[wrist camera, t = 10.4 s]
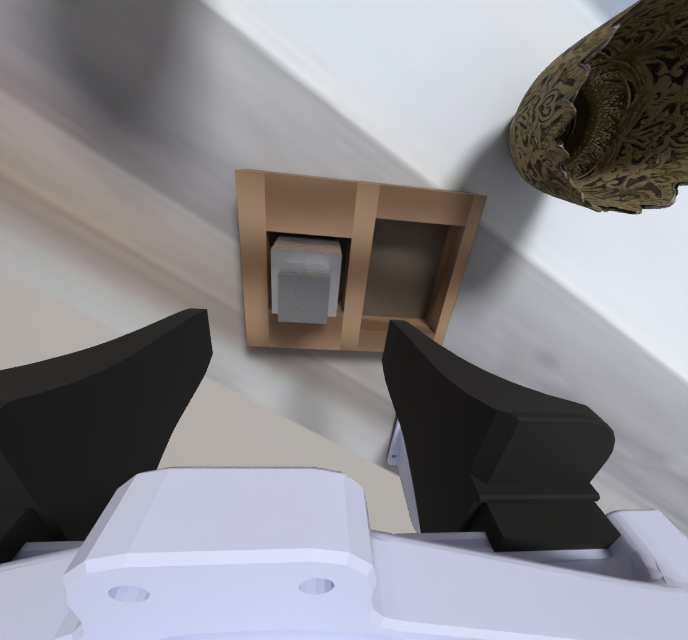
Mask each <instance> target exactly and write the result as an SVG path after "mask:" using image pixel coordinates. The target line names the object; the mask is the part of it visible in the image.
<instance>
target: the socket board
mask: <svg viewBox="0 0 688 640" xmlns="http://www.w3.org/2000/svg"><path fill="white" fill-rule="evenodd" d="M235 176H236V190H237V205H238V220H239V234H240V249H241V264H242V278H243V293H244V307H245V322H246V337H247V346H252V347H276V348H299V349H322V350H345V351H368V352H384V347H385V342H386V337H387V331H388V326H389V321H390V320H405V321H407V322H408V323H410V324H411V325H413V326H414V327H416V328H417V329H418V330H420V331H421V332H423V333H424V334H425V335H427V336H428V337H429V338H431V339H432V340H434V341H435V342H437V343H438V344H439V345H441V346H442V344H443V341H444V337H445V334H446V331H447V328H448V324H449V321H450V318H451V314H452V311H453V308H454V304H455V301H456V298H457V294H458V291H459V288H460V284H461V281H462V278H463V274H464V271H465V268H466V264H467V261H468V258H469V254H470V251H471V248H472V244H473V241H474V238H475V235H476V231H477V228H478V225H479V221H480V218H481V215H482V211H483V208H484V205H485V201H486V198H487V196H484V195H478V194H473V193H468V192H458V191H449V190H439V189H430V188H420V187H411V186H401V185H392V184H382V183H373V182H363V181H354V180H344V179H335V178H325V177H316V176H307V175H297V174H288V173H278V172H269V171H259V170H250V169H239V170H235ZM281 232H285V233H297V234H309V235H321V236H333V237H338V239H339V244H340V248H341V253H342V260H341V271H340V281H339V292H338V302H337V313H336V317H327V324H317V323H298V322H279V321H278V314H274V313H272V287H271V248H272V247H273V245H274V243H275V242H276V240H277V238H278V237H279V235H280V233H281Z"/></svg>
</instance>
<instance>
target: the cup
mask: <svg viewBox="0 0 688 640" xmlns="http://www.w3.org/2000/svg"><path fill="white" fill-rule="evenodd" d="M508 144H509V149H510V151H511V155H512V159H513V162H514V165H515V167H516V169H517V170H518V172H519V174H520V175H521V176H522V178H523V179H524V180H525V181H526V182H527V183H529V184H530V185H531V186H533V187H534V188H536V189H538V190H540V191H542V192H544V193H546V194H549V195H551V196H554V197H556V198H559V199H562V200H565V201H568V202H571V203H574V204H577V205H580V206H583V207H586V208H589V209H591V210H594V211H596V212H601V211H604V212H608V211H616V212H622V213H628V214H641V212H642V209H661V208H667V207H670V206H671V205H673V204H674V203H675V200H676V196H677V195H678V186H682V185H686V186H687V185H688V0H639V1H638V2H636V3H635V4H633V5H632V6H630V7H628V8H627V9H625V10H624V11H622V12H621V13H619V14H618V15H616V16H615V17H613V18H612V19H610V20H609V21H607V22H606V23H604V24H603V25H601V26H600V27H598V28H597V29H595V30H594V31H592V32H591V33H590V34H588V35H587V36H585V37H584V38H582V39H581V40H580V41H578V42H577V43H575V44H574V45H573V46H571V47H570V48H568V49H567V50H566V51H565V52H564V53H562V54H561V55H560V56H559V57H557V58H556V59H555V60H554V61H553V62H552V63H551V64H550V65H549V66H548V67H547V68H546V69H545V70H544V71H543V72H542V73H541V74H540V75H539V76H538V77H537V79H536V80H535V81H534V82H533V84H532V85H531V87H530V88H529V90H528V91H527V93H526V94H525V96H524V98H523V99H522V101H521V103H520V105H519V107H518V110H517V112H516V115H515V117H514V119H513V121H512V123H511V126H510V129H509V134H508ZM675 188H676V189H675Z"/></svg>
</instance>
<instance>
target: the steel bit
mask: <svg viewBox="0 0 688 640" xmlns="http://www.w3.org/2000/svg"><path fill="white" fill-rule="evenodd" d="M341 260H342V253H341V248H340V244H339V239H338V237H333V236H321V235H309V234H297V233H285V232H281V233H280V235H279V237H278V238H277V240H276V242H275V243H274V245H273V247H272V248H271V287H272V313H274V314H278V321H279V322H298V323H317V324H327V317H336V313H337V302H338V292H339V281H340V271H341Z"/></svg>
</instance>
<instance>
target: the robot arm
mask: <svg viewBox="0 0 688 640" xmlns="http://www.w3.org/2000/svg"><path fill="white" fill-rule="evenodd" d="M212 355H213V351H212V344H211V336H210V329H209V322H208V314H207V309H193V308H190V309H186V310H183V311H181V312H178V313H176V314H173V315H171V316H169V317H167V318H164V319H162V320H160V321H157V322H155V323H153V324H151V325H148V326H146V327H144V328H141V329H139V330H136V331H134V332H131V333H129V334H126V335H124V336H121V337H119V338H117V339H114V340H111V341H108V342H106V343H103V344H100V345H97V346H94V347H91V348H87V349H84V350H81V351H78V352H74V353H71V354H68V355H63V356H60V357H56V358H52V359H48V360H44V361H40V362H36V363H32V364H28V365H24V366H19V367H14V368H9V369H4V370H0V640H688V540H687V539H686V538H685V537H684V536H683V535H682V534H681V533H680V532H679V531H678V530H677V528H676V527H675V526H674V525H673V524H672V523H671V522H670V521H669V520H668V519H667V518H666V517H665V516H664V515H663V514H662V513H661V512H660V511H658V510H654V509H639V510H616V511H612V512H610V513H608V514H606V515H605V514H604V513H603V512H602V510H601V509H600V508H599V507H598V505H597V504H596V503H595V502H594V501H598V500H599V499H600V496H599V493H598V492H597V491H596V490H595V489H594V487H593V486H592V485H591V484H590V482H591V480H592V479H593V478H594V476H595V475H596V474H597V473H598V471H599V470H600V469H601V467H602V466H603V465H604V464H605V462H606V461H607V460H608V458H609V456H610V455H611V453H612V451H613V448H614V443H615V436H614V432H613V430H612V429H611V428H610V427H609V426H608V424H607V423H605V422H604V421H603V420H602V419H601V418H600V417H599V416H598V415H597V414H596V413H594V412H593V411H592V410H591V409H590V408H589V407H588V406H586V405H583V404H579V403H576V402H572V401H568V400H565V399H561V398H558V397H554V396H551V395H547V394H544V393H541V392H538V391H535V390H532V389H529V388H526V387H523V386H521V385H518V384H515V383H513V382H510V381H508V380H505V379H503V378H501V377H498V376H496V375H494V374H491V373H489V372H487V371H485V370H483V369H481V368H479V367H477V366H475V365H473V364H471V363H469V362H467V361H465V360H464V359H462V358H460V357H458V356H457V355H455V354H453V353H452V352H450V351H449V350H447V349H445V348H444V347H442V346H441V345H439V344H438V343H437V342H435V341H434V340H432V339H431V338H429V337H428V336H427V335H425V334H424V333H423V332H421V331H420V330H418V329H417V328H416V327H414V326H413V325H411V324H410V323H408V322H407V321H405V320H390V321H389V326H388V331H387V337H386V342H385V347H384V352H383V357H382V364H383V371H384V376H385V381H386V384H387V387H388V391H389V394H390V397H391V400H392V403H393V406H394V409H395V412H396V415H397V418H398V419H397V423H396V427H395V430H394V434H393V438H392V442H391V446H390V450H389V454H388V458H387V462H388V464H389V465H397V467H398V471H399V475H400V479H401V482H402V486H403V490H404V495H405V498H406V503H407V506H408V510H409V514H410V518H411V522H412V524H413V527H414V529H415V531H416V532H417V533H410V534H409V533H407V534H391V533H386V532H381V531H375V530H371V529H370V525H369V518H368V510H367V503H366V499H365V494H364V490H363V487H361V486H360V485H359V484H357V483H356V482H355V481H353V480H352V479H350V478H349V477H347V476H346V475H345V474H343V473H341V472H339V471H334V470H327V469H322V468H317V467H170V468H164V469H158V470H157V467H158V465H159V462H160V460H161V458H162V455H163V453H164V451H165V448H166V446H167V444H168V441H169V439H170V437H171V434H172V432H173V430H174V428H175V427H176V425H177V423H178V421H179V419H180V417H181V416H182V414H183V412H184V411H185V409H186V407H187V405H188V404H189V402H190V400H191V398H192V397H193V395H194V393H195V391H196V390H197V388H198V386H199V384H200V382H201V381H202V379H203V377H204V375H205V373H206V371H207V368H208V366H209V363H210V360H211V357H212Z"/></svg>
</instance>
